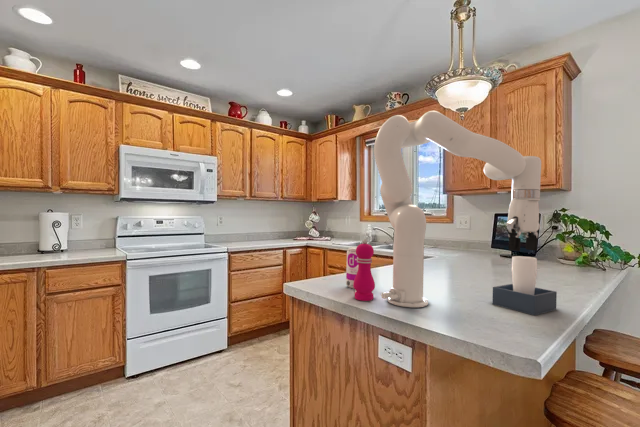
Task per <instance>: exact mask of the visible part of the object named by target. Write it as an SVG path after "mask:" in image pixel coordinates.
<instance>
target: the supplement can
mask: <svg viewBox="0 0 640 427" xmlns="http://www.w3.org/2000/svg"><path fill="white" fill-rule="evenodd" d="M356 248H357V246H352V247H351V246H350V247H348V249H347V251H346V268H345V270H346V272H345V274H346V275H345V276H346V278H345V285H346V286H347V287H348V288H350V289H354V287H353V283H354V279H355V277H356V275H357V272H358V262H357V261H358V259H357V258H358V256H357V254H356Z"/></svg>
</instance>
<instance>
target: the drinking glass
mask: <svg viewBox="0 0 640 427" xmlns="http://www.w3.org/2000/svg"><path fill="white" fill-rule="evenodd" d="M537 275H538V258H537V257H533V256H523V255H512V256H511V278H512V284H513V291H516V292H521V293H525V294H530V295H534V293H535V287H536V283H537Z"/></svg>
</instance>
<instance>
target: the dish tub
mask: <svg viewBox="0 0 640 427" xmlns="http://www.w3.org/2000/svg"><path fill="white" fill-rule="evenodd" d="M557 293H558V292H557V290H556V291H555V290H550V289H547V288H540V287H536V286H535V293H534V295H530V294H525V293H521V292H516V291H513V283H508V284H502V285H497V286H496V285H495V286H492V302H491V303H492V305H494V306H498V307H501V308H505V309H508V310H512V311H516V312H520V313H524V314H527V315H531V316H538V315H542V314H545V313H549V312H552V311H556V310H557V299H558V298H557V297H558V296H557Z"/></svg>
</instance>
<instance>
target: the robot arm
mask: <svg viewBox="0 0 640 427" xmlns="http://www.w3.org/2000/svg"><path fill="white" fill-rule="evenodd" d="M431 142H432V143H434V144H436V145H437V146H439V147H441V148H442V149H444V150H446V151H447V152H449V153H450V154H452V155H454V156H456V157H461V158H472V159H475V160H476V159H477V160H478V161H482V162H484V163H485V164H484V166H483V173H484V175H485V177H487V178H488V179H491V180H493V181H505V180H511V198H510V199H511V200H510V203H509V207H508V214H507V221H506V229H507V230H506V232H507V237H508V251H514V252H520V251H521V239H522V238H521V237H520V236H521V234H522V232H523V233H525V234H526V236H527V237H525V250H529V251H538V242H539V240H538V239H539V233H540V229H541V223H540V209H539V208H540V207H539V206H540V205H539V202H540V201H541V180H542V179H541V177H542V159H541V158H540V157H539V156H535V155H523V154H522V153H521V152H520V151H518V150H517V149H515V148H513V147H512V146H510V145H508V144H507V143H505V142H503V141H501V140H499V139H496V138H493V137H490V136H487V135H483V134H480V133H477V132H473V131H471V130H470V129H467V128H466V127H464V126H463V125H461V124H459V123H458V122H456V121H455V120H453V119H452V118H450V117H448V116H446V115H445V114H443V113H441V112H439V111H438V110H429V111H427V112H424V114H423V115H422V116H420V117H419V118H418V120H415V121H411V122H409V120H408V119H407V117H406V116H404V115H401V114H396V115H392V116H390V117H389V118H388V119H386V120H385V121H384V122H383V124H382V125H381V126H380V127H379V130H378V132H377V134H376V137H375V141H374V145H373V146H374V147H373V154H374V160H375V164H376V168H377V171H378V174H379V177H380V180H381V185H380V189H379V190H380V196H381V200H382V203H383V206H384V209H385V212H386V214H387V217H388V220H389V223H390V225H391V226H392V228H393V229H394V232H393V234H394V235H393V244H392V246H393V247H392V250H393V251H392V254H393V255H392V256H393V258H392V259H393V260H392V266H393V267H392V287H390V289H389V291H384V292H381V294H380V296H381V298H382V299H383V300H385V299H387V302H388V303H389V304H392V305H394V306H398V307H403V308H413V309H414V308H424V307H427V306H428V305H429V300H428V299H427V298H426V297H424V273H425V272H424V266H425V265H424V264H425V263H424V262H425V237H426V230H427V217H426V215H425V212H424V211H423V209H422V208H420V207H419V206H417V205H415V204H413V201H412V198H411V196H412V193H413V188H414V187H413V183H412V181H411V178H410V176H409V174H408V170H407V167H406V165H405V162H404V157H403V153H402V149H405V148H411V147H416V146H420V145H421V146H422V145H425V144H428V143H431Z"/></svg>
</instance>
